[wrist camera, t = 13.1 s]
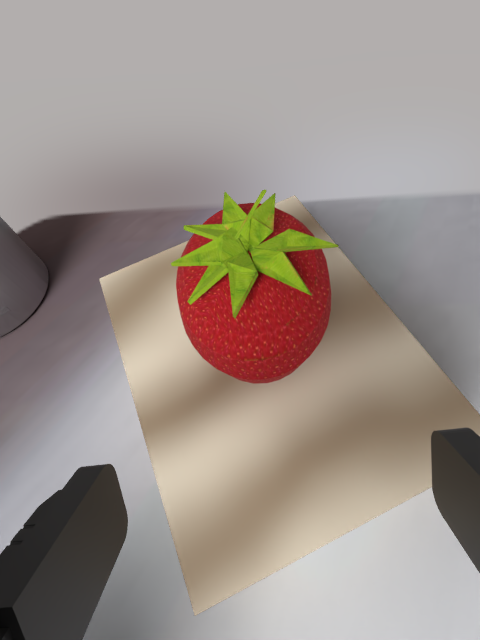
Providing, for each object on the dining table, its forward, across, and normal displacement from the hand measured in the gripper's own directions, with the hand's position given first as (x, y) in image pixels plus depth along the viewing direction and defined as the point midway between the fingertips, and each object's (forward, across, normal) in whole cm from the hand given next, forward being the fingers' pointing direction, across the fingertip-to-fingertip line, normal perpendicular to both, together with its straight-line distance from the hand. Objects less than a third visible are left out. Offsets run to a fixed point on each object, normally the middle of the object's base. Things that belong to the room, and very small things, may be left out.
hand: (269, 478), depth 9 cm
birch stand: (+13, 0, +3) cm, 14 cm away
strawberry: (+10, 0, 0) cm, 10 cm away
